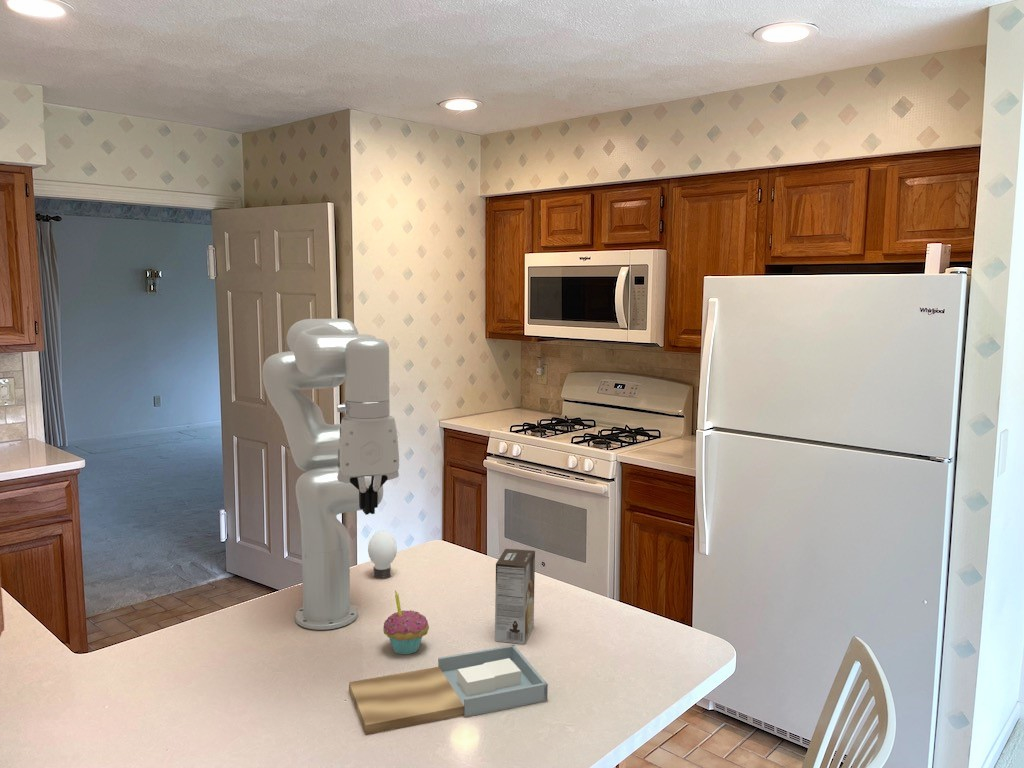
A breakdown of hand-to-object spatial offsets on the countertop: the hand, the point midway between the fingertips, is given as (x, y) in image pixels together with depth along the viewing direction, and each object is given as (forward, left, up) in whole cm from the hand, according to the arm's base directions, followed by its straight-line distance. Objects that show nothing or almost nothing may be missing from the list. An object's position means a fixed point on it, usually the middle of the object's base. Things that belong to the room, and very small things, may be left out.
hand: (368, 512), depth 140 cm
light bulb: (-43, +12, -29) cm, 53 cm away
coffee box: (-4, +30, -29) cm, 42 cm away
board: (+14, +3, -29) cm, 32 cm away
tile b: (+13, +21, -29) cm, 38 cm away
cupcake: (-5, +8, -29) cm, 31 cm away
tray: (+14, +18, -29) cm, 37 cm away
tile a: (+14, +16, -29) cm, 35 cm away
